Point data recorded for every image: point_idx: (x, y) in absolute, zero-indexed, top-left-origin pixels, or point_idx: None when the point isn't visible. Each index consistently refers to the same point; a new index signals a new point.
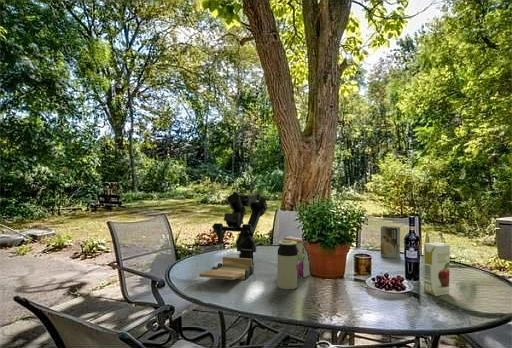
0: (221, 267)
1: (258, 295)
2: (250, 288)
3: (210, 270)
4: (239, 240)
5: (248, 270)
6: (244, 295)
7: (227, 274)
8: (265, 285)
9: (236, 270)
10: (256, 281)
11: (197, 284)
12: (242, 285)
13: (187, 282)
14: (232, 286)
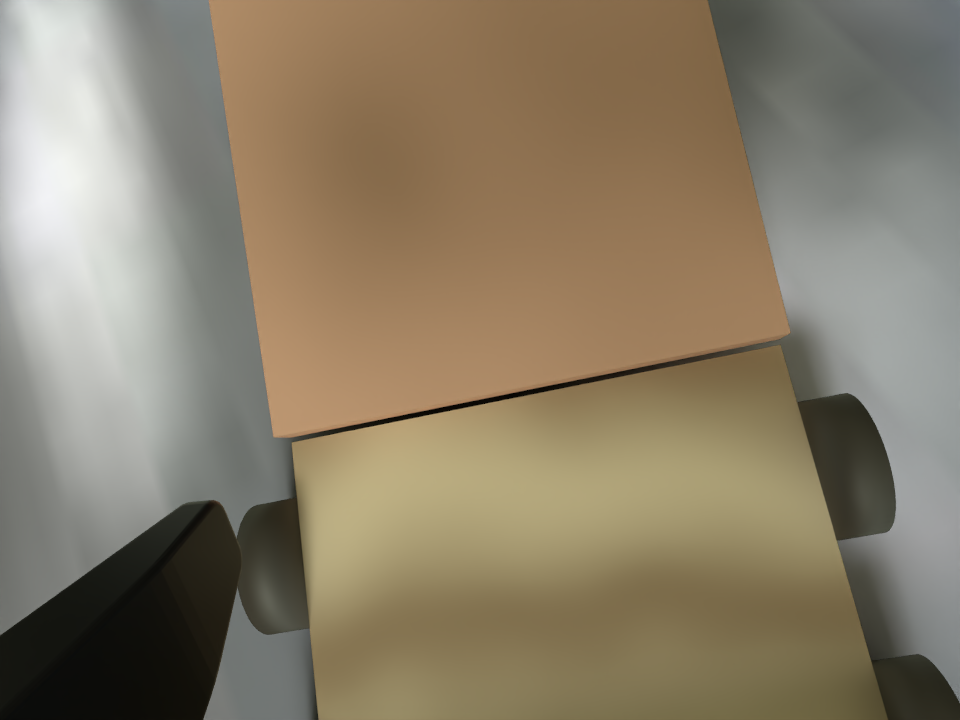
0: (853, 701)
1: (3, 76)
2: (128, 204)
3: (755, 220)
4: (52, 616)
5: (242, 566)
6: (115, 12)
7: (341, 76)
8: (14, 373)
9: (497, 628)
10: (147, 465)
11: (728, 17)
12: (241, 247)
13: (899, 9)
14: None
